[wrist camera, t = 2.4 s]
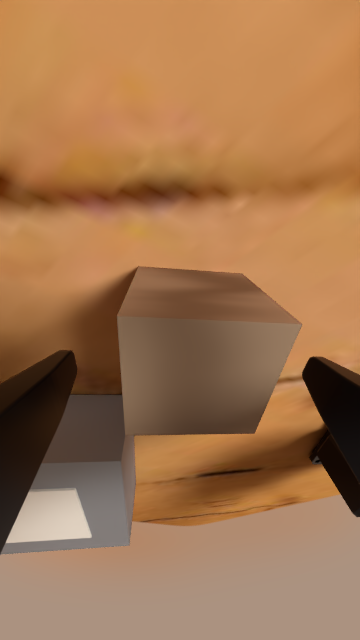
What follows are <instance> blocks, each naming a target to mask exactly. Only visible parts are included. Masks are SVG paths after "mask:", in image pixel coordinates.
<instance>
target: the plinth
mask: <svg viewBox="0 0 360 640" xmlns="http://www.w3.org/2000/svg"><path fill="white" fill-rule="evenodd" d="M135 486H136V476H135V451H134V435H125V424H124V410H123V396H122V395H70V396H69V399H68V403H67V406H66V409H65V411H64V414H63V417H62V419H61V422H60V424H59V426H58V428H57V430H56V433H55V435H54V437H53V439H52V442H51V444H50V446H49V448H48V450H47V453H46V455H45V457H44V459H43V461H42V464H41V466H40V468H39V470H38V472H37V475H36V477H35V479H34V481H33V483H32V486H31V488H30V490H29V492H28V495H27V497H26V499H25V501H24V503H23V506H22V508H21V510H20V512H19V514H18V517H17V519H16V521H15V523H14V525H13V528H12V530H11V532H10V534H9V536H8V539H7V541H6V543H5V545H4V548H3V550H2V552H1V554H12V553H27V552H41V551H54V550H70V549H84V548H98V547H114V546H127V545H129V544H130V535H131V525H132V515H133V506H134V496H135Z"/></svg>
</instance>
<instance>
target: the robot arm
mask: <svg viewBox="0 0 360 640" xmlns="http://www.w3.org/2000/svg"><path fill="white" fill-rule="evenodd" d="M76 375H77V365H76V361H75V356H74V353H73V351H71V350H60V351H58V352H56V353H54V354H52V355H51V356H49V357H47V358H45V359H44V360H42V361H40V362H38V363H36V364H35V365H33V366H31V367H29V368H28V369H26V370H24V371H22V372H21V373H19V374H17V375H15V376H14V377H12V378H10V379H8V380H7V381H5V382H3V383H1V384H0V554H1V552H2V550H3V548H4V545H5V543H6V541H7V539H8V536H9V534H10V532H11V530H12V528H13V525H14V523H15V521H16V519H17V517H18V514H19V512H20V510H21V508H22V506H23V503H24V501H25V499H26V497H27V495H28V492H29V490H30V488H31V486H32V483H33V481H34V479H35V477H36V475H37V472H38V470H39V468H40V466H41V464H42V461H43V459H44V457H45V455H46V453H47V450H48V448H49V446H50V444H51V442H52V439H53V437H54V435H55V433H56V430H57V428H58V426H59V424H60V422H61V419H62V417H63V414H64V411H65V409H66V406H67V403H68V399H69V396H70V393H71V390H72V387H73V384H74V381H75V378H76ZM302 377H303V380H304V382H305V384H306V386H307V388H308V390H309V393H310V395H311V397H312V399H313V401H314V403H315V406H316V408H317V410H318V412H319V414H320V416H321V418H322V419H323V421H324V423H325V425H326V426H327V428H328V432H327V433H326V435H325V436H324V437H323V439H322V440H321V442H320V443H319V444H318V446H317V447H316V449H315V450H314V451H313V453H312V454H311V456H310V457H309V458H310V460H311V462H312V464H322V465H323V466H324V468H325V469H326V471H327V473H328V474H329V476H330V478H331V479H332V481H333V482H334V484H335V486H336V487H337V489H338V491H339V492H340V494H341V495H342V497H343V499H344V500H345V502H346V503H347V505H348V507H349V508H350V510H351V511H352V513H353V514H354V515H355V516H356V517H360V375H359V374H357V373H355V372H353V371H351V370H348V369H346V368H344V367H342V366H340V365H338V364H336V363H334V362H332V361H330V360H328V359H326V358H324V357H311V358H309V360H308V362H307V364H306V366H305V368H304V370H303V372H302Z"/></svg>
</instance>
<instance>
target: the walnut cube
mask: <svg viewBox="0 0 360 640" xmlns="http://www.w3.org/2000/svg"><path fill="white" fill-rule="evenodd" d="M117 324H118V339H119V353H120V367H121V382H122V396H123V410H124V424H125V435H187V434H254V433H255V431H256V429H257V427H258V424H259V422H260V420H261V417H262V415H263V413H264V411H265V408H266V406H267V404H268V401H269V399H270V397H271V395H272V392H273V390H274V388H275V385H276V383H277V381H278V379H279V376H280V374H281V372H282V369H283V367H284V365H285V363H286V360H287V358H288V356H289V353H290V351H291V349H292V347H293V344H294V342H295V340H296V337H297V335H298V333H299V331H300V328H301V326H302V324H301V323H300V322H299V321H298V320H297V319H295V318H294V317H293V316H292V315H291V314H290V313H288V312H287V311H286V310H285V309H284V308H282V307H281V306H280V305H279V304H278V303H276V302H275V301H274V300H273V299H272V298H270V297H269V296H268V295H267V294H266V293H265V292H263V291H262V290H261V289H260V288H259V287H257V286H256V285H255V284H254V283H253V282H251V281H250V280H249V279H248V278H247V277H246V276H244V275H243V274H240V273H225V272H211V271H197V270H182V269H168V268H154V267H140V266H139V267H138V269H137V271H136V273H135V276H134V278H133V280H132V283H131V285H130V287H129V289H128V292H127V294H126V296H125V299H124V301H123V303H122V305H121V308H120V310H119V312H118V315H117Z"/></svg>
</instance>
